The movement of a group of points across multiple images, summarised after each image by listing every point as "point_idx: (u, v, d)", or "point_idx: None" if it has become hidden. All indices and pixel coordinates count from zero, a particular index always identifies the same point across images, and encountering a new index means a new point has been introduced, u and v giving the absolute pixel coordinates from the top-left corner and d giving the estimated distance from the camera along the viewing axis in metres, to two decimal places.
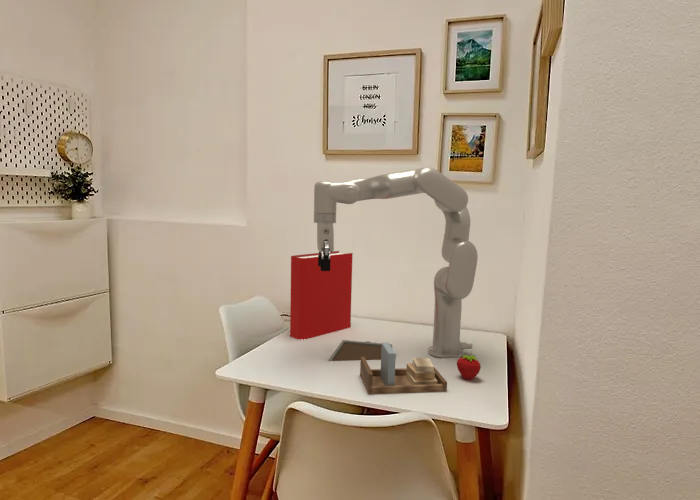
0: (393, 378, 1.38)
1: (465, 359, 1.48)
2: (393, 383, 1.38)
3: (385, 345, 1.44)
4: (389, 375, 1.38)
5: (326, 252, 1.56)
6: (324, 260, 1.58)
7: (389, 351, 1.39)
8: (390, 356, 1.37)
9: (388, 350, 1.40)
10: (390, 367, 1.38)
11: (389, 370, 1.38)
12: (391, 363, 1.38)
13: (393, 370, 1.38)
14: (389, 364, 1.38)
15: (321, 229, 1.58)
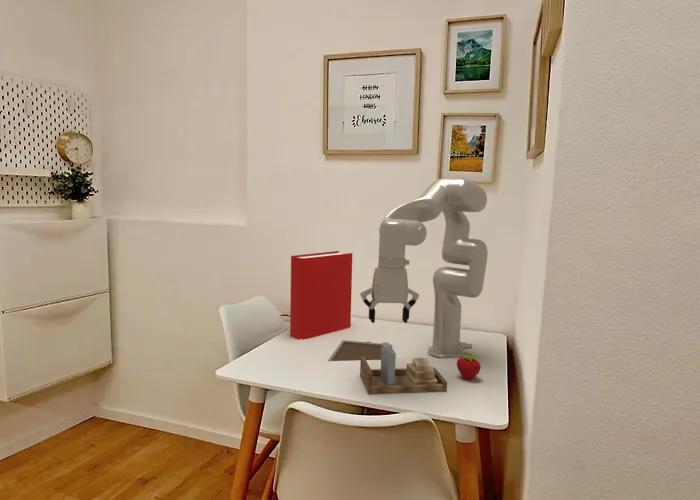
0: (393, 378, 1.38)
1: (465, 359, 1.48)
2: (393, 383, 1.38)
3: (385, 345, 1.44)
4: (389, 375, 1.38)
5: None
6: None
7: (389, 351, 1.39)
8: (390, 356, 1.37)
9: (388, 350, 1.40)
10: (390, 367, 1.38)
11: (389, 370, 1.38)
12: (391, 363, 1.38)
13: (393, 370, 1.38)
14: (389, 364, 1.38)
15: None
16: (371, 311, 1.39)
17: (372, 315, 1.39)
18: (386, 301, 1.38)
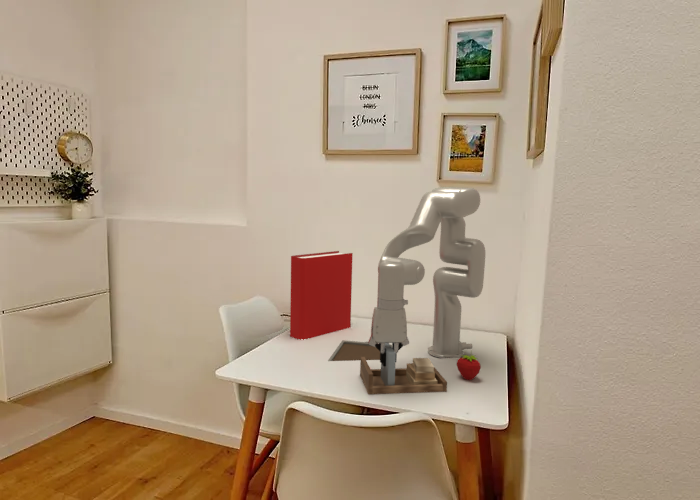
0: (394, 378, 1.38)
1: (465, 359, 1.48)
2: (393, 383, 1.38)
3: (385, 345, 1.44)
4: (389, 375, 1.38)
5: None
6: None
7: (389, 351, 1.39)
8: (390, 356, 1.37)
9: (388, 350, 1.40)
10: (390, 367, 1.38)
11: (389, 370, 1.38)
12: (391, 363, 1.38)
13: (393, 370, 1.38)
14: (389, 364, 1.38)
15: (405, 316, 1.40)
16: (382, 355, 1.41)
17: (383, 359, 1.41)
18: (385, 341, 1.40)
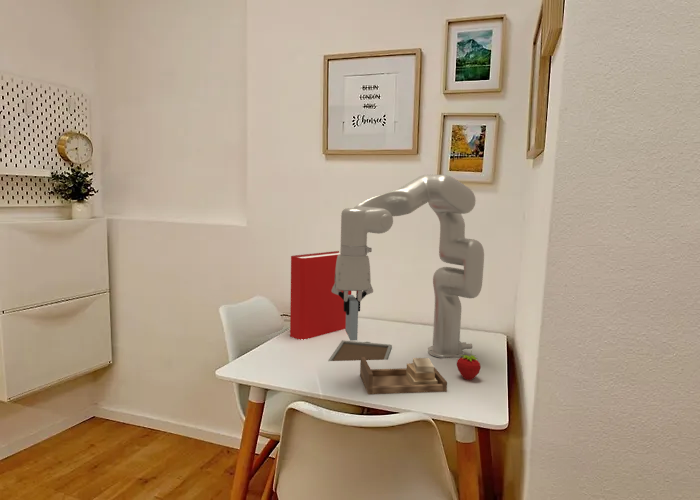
0: (356, 327, 1.36)
1: (465, 359, 1.48)
2: (356, 333, 1.36)
3: (349, 296, 1.42)
4: (352, 325, 1.36)
5: None
6: None
7: (352, 301, 1.37)
8: (353, 305, 1.35)
9: (351, 300, 1.38)
10: (353, 316, 1.36)
11: (352, 319, 1.36)
12: (354, 312, 1.36)
13: (356, 320, 1.36)
14: (352, 313, 1.36)
15: (369, 263, 1.38)
16: (346, 303, 1.39)
17: (347, 307, 1.39)
18: (348, 289, 1.38)
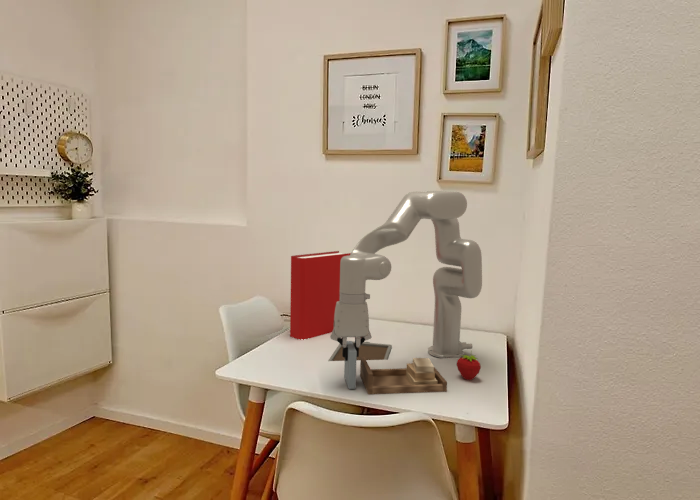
0: (355, 376, 1.38)
1: (465, 359, 1.48)
2: (354, 381, 1.38)
3: (348, 344, 1.44)
4: (350, 373, 1.38)
5: None
6: (358, 347, 1.42)
7: (350, 349, 1.39)
8: (351, 354, 1.37)
9: (350, 348, 1.40)
10: (351, 365, 1.37)
11: (350, 368, 1.38)
12: (352, 361, 1.37)
13: (354, 368, 1.38)
14: (350, 362, 1.37)
15: (367, 310, 1.40)
16: (344, 349, 1.41)
17: (345, 353, 1.41)
18: (347, 335, 1.39)
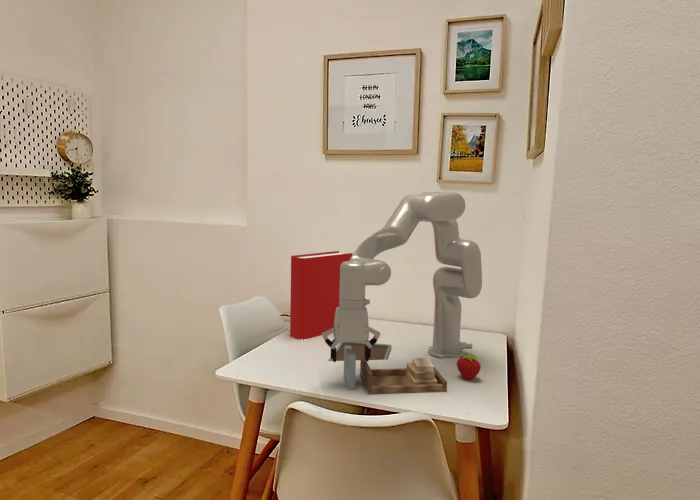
0: (354, 381, 1.38)
1: (465, 359, 1.48)
2: (353, 386, 1.38)
3: (347, 348, 1.44)
4: (349, 378, 1.38)
5: None
6: None
7: (350, 354, 1.39)
8: (350, 359, 1.37)
9: (349, 353, 1.40)
10: (350, 370, 1.38)
11: (349, 373, 1.38)
12: (351, 366, 1.37)
13: (353, 373, 1.38)
14: (349, 367, 1.37)
15: (367, 316, 1.40)
16: (332, 351, 1.40)
17: (333, 355, 1.40)
18: (347, 341, 1.40)
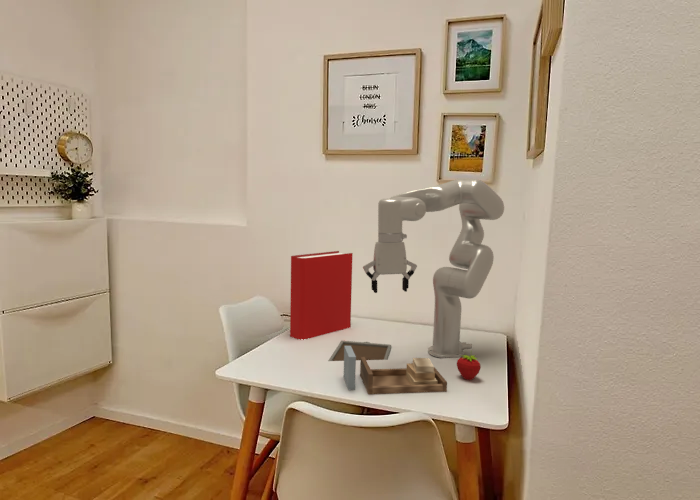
0: (354, 381, 1.38)
1: (465, 359, 1.48)
2: (353, 386, 1.38)
3: (347, 348, 1.44)
4: (349, 378, 1.38)
5: None
6: None
7: (350, 354, 1.39)
8: (350, 359, 1.37)
9: (349, 353, 1.40)
10: (350, 370, 1.38)
11: (349, 373, 1.38)
12: (351, 366, 1.37)
13: (353, 373, 1.38)
14: (349, 367, 1.37)
15: None
16: (373, 282, 1.52)
17: (375, 286, 1.52)
18: (387, 272, 1.51)
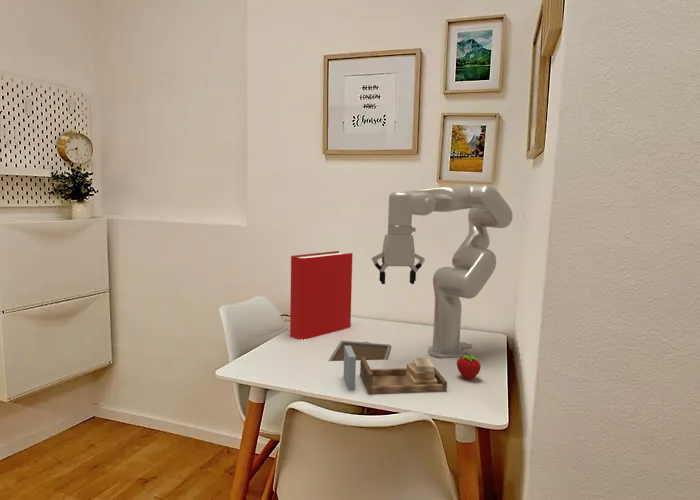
0: (354, 381, 1.38)
1: (465, 359, 1.48)
2: (353, 386, 1.38)
3: (347, 348, 1.44)
4: (349, 378, 1.38)
5: None
6: None
7: (350, 354, 1.39)
8: (350, 359, 1.37)
9: (349, 353, 1.40)
10: (350, 370, 1.38)
11: (349, 373, 1.38)
12: (351, 366, 1.37)
13: (353, 373, 1.38)
14: (349, 367, 1.37)
15: (413, 242, 1.54)
16: (382, 274, 1.55)
17: (382, 277, 1.54)
18: (395, 264, 1.54)
